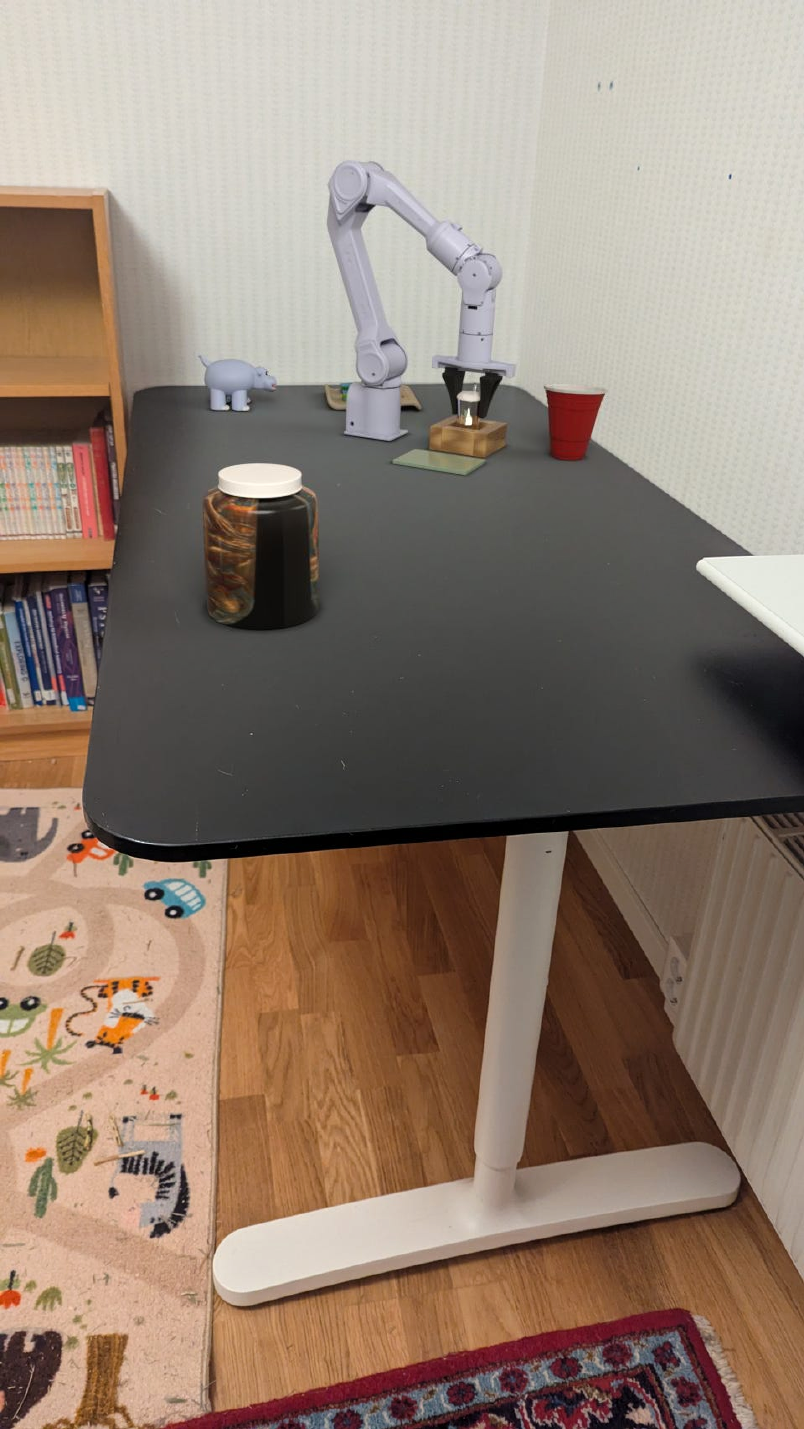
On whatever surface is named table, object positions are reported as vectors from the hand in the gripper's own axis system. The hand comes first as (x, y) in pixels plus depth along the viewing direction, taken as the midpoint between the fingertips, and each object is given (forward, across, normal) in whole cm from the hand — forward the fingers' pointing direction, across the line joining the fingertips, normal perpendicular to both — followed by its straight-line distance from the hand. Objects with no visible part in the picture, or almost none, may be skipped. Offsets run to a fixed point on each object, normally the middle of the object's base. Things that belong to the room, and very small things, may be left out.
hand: (469, 415), depth 177 cm
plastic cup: (+6, -17, -4) cm, 19 cm away
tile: (+6, 0, +13) cm, 14 cm away
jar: (+6, -8, +82) cm, 82 cm away
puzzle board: (+6, +31, -24) cm, 40 cm away
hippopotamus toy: (+6, +51, -6) cm, 52 cm away
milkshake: (+5, 0, 0) cm, 5 cm away
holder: (+6, 0, 0) cm, 6 cm away
